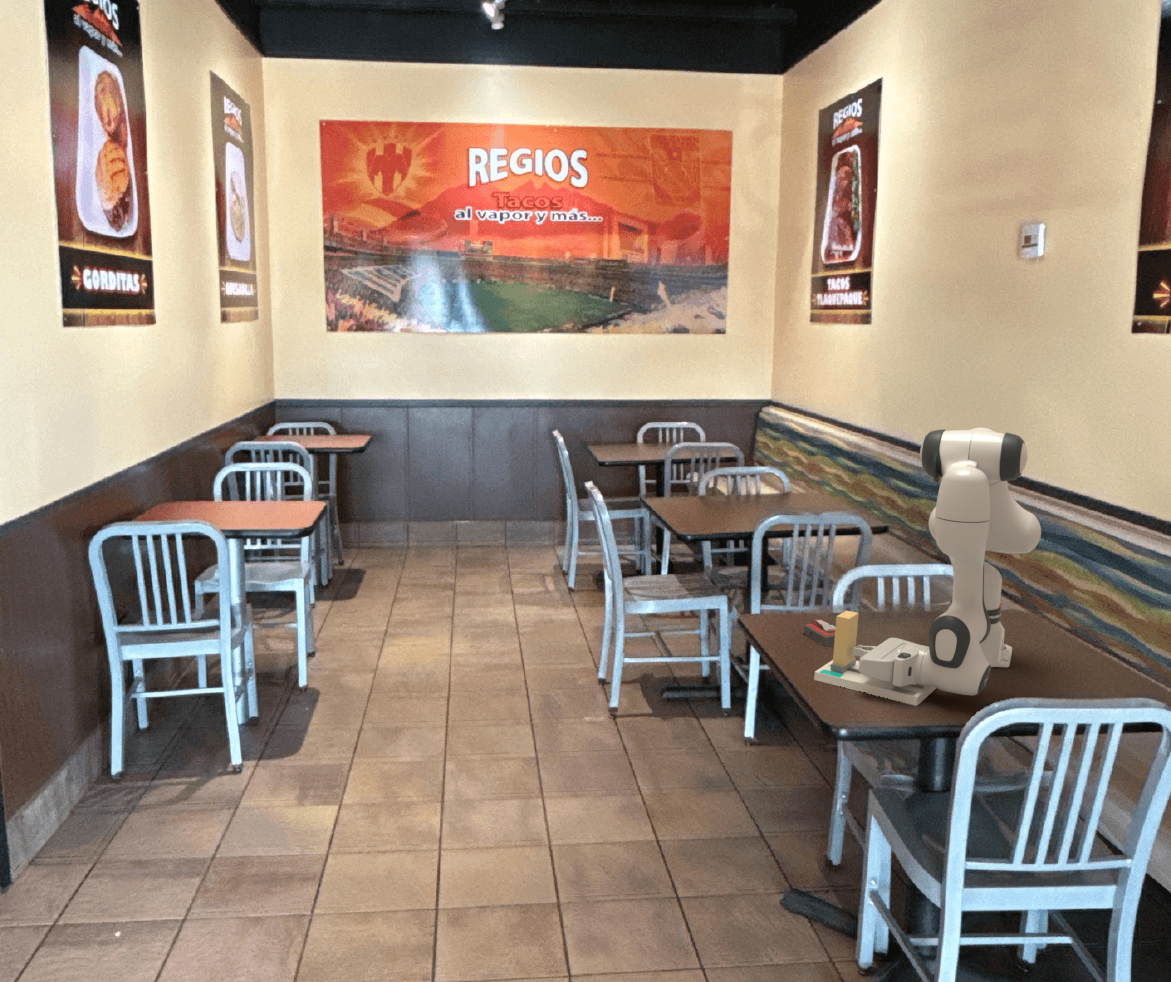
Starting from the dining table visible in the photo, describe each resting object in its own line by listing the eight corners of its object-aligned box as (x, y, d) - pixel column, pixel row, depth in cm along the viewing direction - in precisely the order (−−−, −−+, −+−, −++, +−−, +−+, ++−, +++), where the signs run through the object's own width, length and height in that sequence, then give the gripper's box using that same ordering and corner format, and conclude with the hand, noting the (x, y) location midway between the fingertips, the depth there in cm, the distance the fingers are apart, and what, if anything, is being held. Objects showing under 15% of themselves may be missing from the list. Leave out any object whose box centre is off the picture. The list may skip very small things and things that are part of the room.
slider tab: (843, 661, 249) (848, 609, 246) (855, 664, 247) (860, 612, 244) (830, 670, 242) (834, 617, 240) (842, 673, 240) (847, 619, 238)
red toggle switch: (857, 647, 267) (816, 624, 286) (858, 631, 266) (817, 608, 285) (827, 650, 264) (788, 626, 283) (828, 633, 263) (789, 610, 282)
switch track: (837, 664, 253) (838, 655, 252) (936, 688, 239) (937, 679, 239) (814, 680, 242) (814, 671, 241) (916, 706, 228) (917, 697, 228)
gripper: (929, 638, 242) (872, 626, 250) (899, 661, 226) (838, 647, 234) (927, 664, 243) (870, 651, 251) (896, 689, 227) (836, 674, 235)
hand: (854, 649), depth 242 cm, fingers closed
